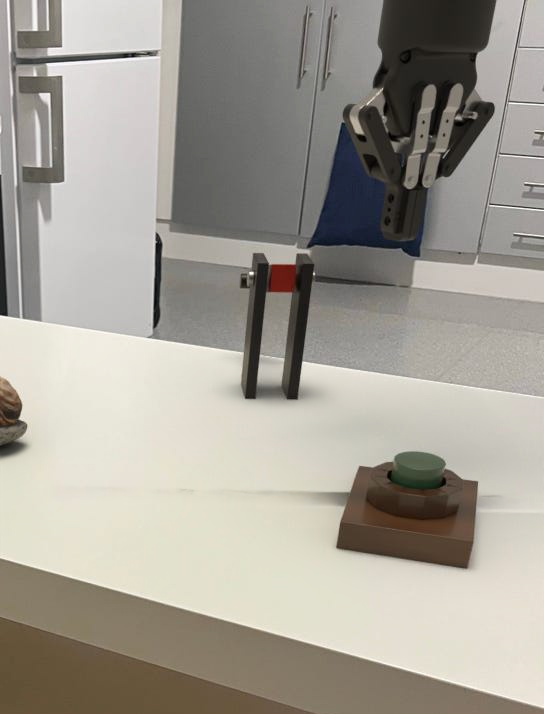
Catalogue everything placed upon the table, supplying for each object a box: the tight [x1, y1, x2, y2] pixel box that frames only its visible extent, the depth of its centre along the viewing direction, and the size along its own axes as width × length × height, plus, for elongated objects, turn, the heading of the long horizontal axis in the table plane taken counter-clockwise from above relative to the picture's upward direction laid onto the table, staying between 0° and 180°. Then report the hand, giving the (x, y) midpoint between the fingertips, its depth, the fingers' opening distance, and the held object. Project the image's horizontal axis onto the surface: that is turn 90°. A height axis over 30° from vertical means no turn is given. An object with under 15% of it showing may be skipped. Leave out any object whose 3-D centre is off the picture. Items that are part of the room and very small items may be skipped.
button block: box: [335, 461, 479, 570], centre depth 75 cm, size 11×9×4 cm
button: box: [390, 450, 447, 490], centre depth 74 cm, size 4×4×2 cm
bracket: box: [240, 252, 316, 401], centre depth 96 cm, size 10×8×14 cm
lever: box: [239, 263, 296, 294], centre depth 98 cm, size 13×5×2 cm, turn 177°
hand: (398, 239), depth 78 cm, fingers closed
